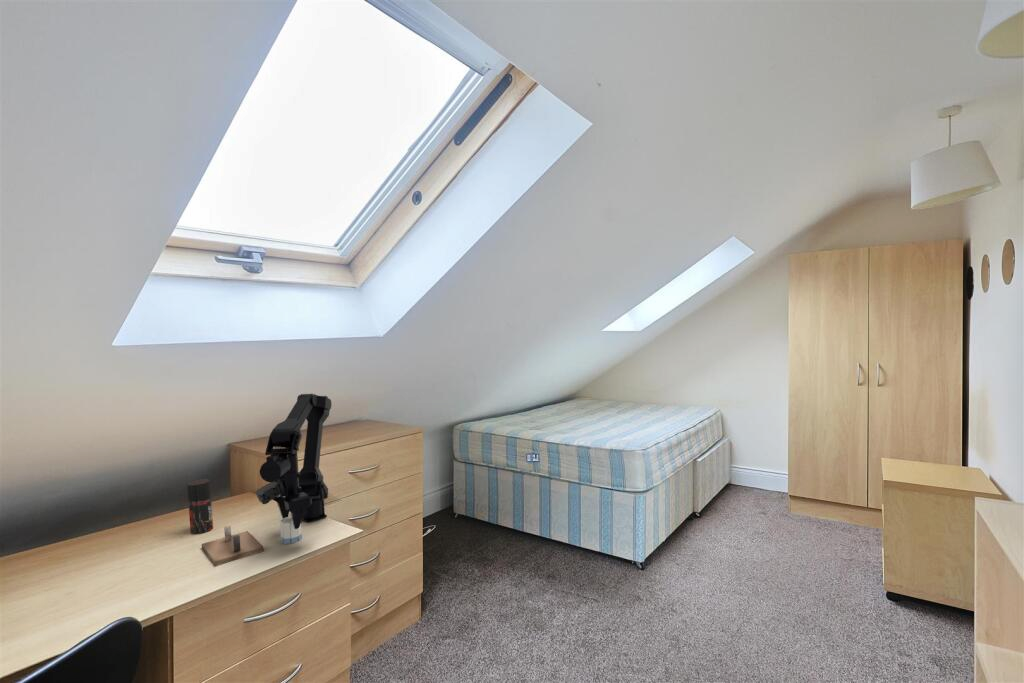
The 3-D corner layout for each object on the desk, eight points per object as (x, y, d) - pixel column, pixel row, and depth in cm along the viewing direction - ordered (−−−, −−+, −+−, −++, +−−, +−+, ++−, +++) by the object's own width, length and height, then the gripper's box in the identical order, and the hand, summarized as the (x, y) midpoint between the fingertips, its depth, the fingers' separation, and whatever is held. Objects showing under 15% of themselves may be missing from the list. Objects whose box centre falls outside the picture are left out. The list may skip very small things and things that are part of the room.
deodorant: (211, 532, 158) (207, 483, 157) (188, 535, 156) (185, 486, 155) (214, 524, 163) (211, 477, 163) (192, 528, 161) (189, 480, 160)
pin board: (247, 534, 155) (246, 517, 155) (263, 550, 144) (262, 532, 144) (201, 548, 147) (200, 530, 147) (215, 566, 136) (213, 546, 135)
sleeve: (297, 534, 154) (296, 514, 154) (304, 539, 150) (302, 519, 150) (279, 539, 150) (277, 519, 150) (285, 545, 147) (284, 524, 146)
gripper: (247, 470, 151) (251, 523, 152) (268, 485, 137) (272, 543, 138) (287, 462, 158) (290, 512, 159) (310, 474, 144) (314, 530, 145)
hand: (290, 524), depth 150 cm, fingers open, 9 cm apart
